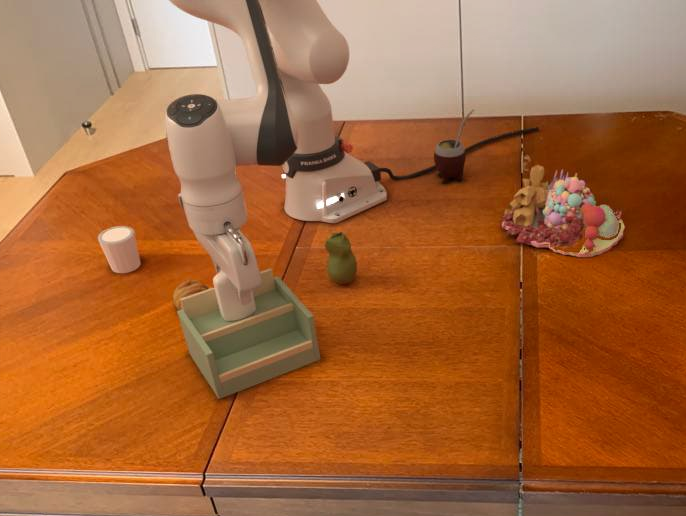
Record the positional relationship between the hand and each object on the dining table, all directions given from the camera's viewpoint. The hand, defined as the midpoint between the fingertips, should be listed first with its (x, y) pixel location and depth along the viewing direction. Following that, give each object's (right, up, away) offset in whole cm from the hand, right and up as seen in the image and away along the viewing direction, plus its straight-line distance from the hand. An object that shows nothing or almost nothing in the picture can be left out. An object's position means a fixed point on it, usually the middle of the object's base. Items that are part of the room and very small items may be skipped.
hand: (234, 288), depth 130 cm
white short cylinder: (-29, +9, +30) cm, 42 cm away
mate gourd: (+37, +33, +53) cm, 72 cm away
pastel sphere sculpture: (+59, +18, +35) cm, 71 cm away
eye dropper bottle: (0, -4, +4) cm, 5 cm away
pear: (+15, +4, +23) cm, 28 cm away
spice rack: (+2, -11, +6) cm, 13 cm away
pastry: (-11, -1, +18) cm, 21 cm away
